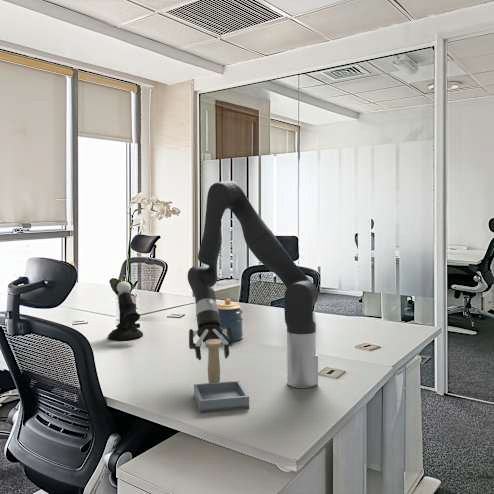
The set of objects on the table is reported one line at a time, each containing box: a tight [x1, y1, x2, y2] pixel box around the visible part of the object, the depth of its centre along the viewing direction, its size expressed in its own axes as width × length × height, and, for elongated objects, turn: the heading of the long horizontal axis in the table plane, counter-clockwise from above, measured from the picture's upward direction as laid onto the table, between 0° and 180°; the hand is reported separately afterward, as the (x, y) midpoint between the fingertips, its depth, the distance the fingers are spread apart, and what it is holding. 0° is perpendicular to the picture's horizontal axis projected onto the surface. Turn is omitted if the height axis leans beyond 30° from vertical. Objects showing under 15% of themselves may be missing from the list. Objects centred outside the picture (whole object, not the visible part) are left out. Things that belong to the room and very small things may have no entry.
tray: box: [193, 380, 250, 414], centre depth 149 cm, size 14×14×4 cm
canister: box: [217, 298, 244, 342], centre depth 223 cm, size 13×13×18 cm
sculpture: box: [107, 280, 144, 342], centre depth 224 cm, size 15×24×25 cm, turn 28°
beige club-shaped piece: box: [205, 339, 222, 383], centre depth 161 cm, size 5×6×15 cm
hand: (213, 358), depth 161 cm, fingers open, 8 cm apart
